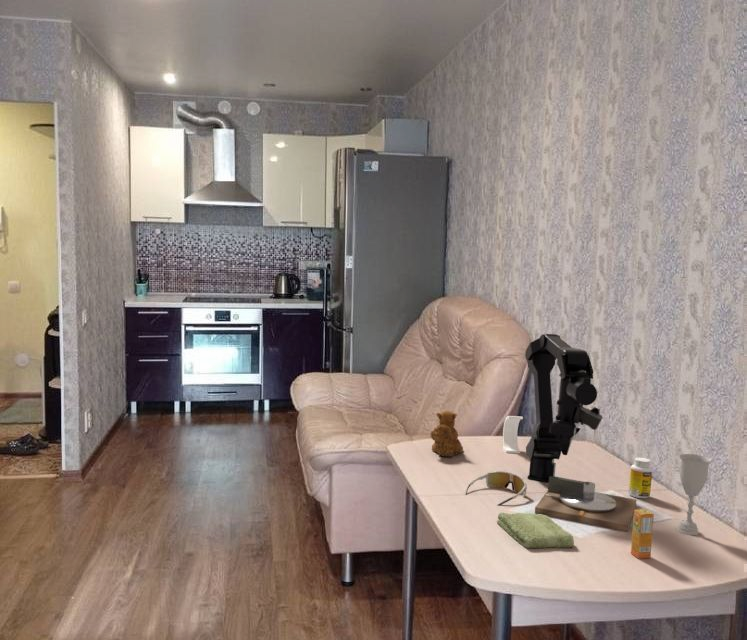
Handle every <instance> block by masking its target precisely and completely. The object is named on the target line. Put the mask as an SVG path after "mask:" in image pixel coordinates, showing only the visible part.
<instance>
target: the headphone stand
mask: <svg viewBox="0 0 747 640" xmlns="http://www.w3.org/2000/svg"><path fill="white" fill-rule="evenodd" d="M521 420H524V417H523V416H517V415H507V416H506V417H505V419H504V423H503V429H502V439H503V441H502V443H503V446H502V450H503V451H504V452H505V453H506V454H521V450H520V448H519V441H518V431H519V430H518V429H519V425H520V424H519V423H520V422H521Z"/></svg>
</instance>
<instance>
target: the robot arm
mask: <svg viewBox="0 0 747 640" xmlns="http://www.w3.org/2000/svg"><path fill="white" fill-rule="evenodd" d="M524 356H525V360H526V362H527V363H526V364H527V369H529V371H530V372H531V374H532V375H533V385H534V388H533V389H534V400H535V401H534V402H535V405H534V406H535V419H536V420H535V421H536V422H535V423H536V424H535V426H534V428H533V430H532V431H531V434H530V436H531V437H530V439H529V441H528V443H527V445H526V446H525V453H526V454H525V455H526V456H528V457H529V459H530V461H529V470H528V471H529V472H528V475H527V476H526V477H527V479H530V480H535V481H541V482H545V483H546V482H547V483H549V477H550V476H555V477H556V465H557V464H556V462H555V460H560V458H561V454H562V456H567V455H568V453H569V450H570V447H571V444H572V442H573V439H574V437H575V436H576V435H577V434H579V433H578V432H580V431H581V428H580V427H577V424H580V425H581V426H583V425H586V426H587V427H589V428H590V429H592V430H594V431H596V430H597V429H598V428H599V425H600V423H601V421H602V419H604V418H603V415H602V414H601V412H600V411H601V409H600V408H598V407H596V406H593V407H592V408H591V409H589V408H587V407H584V406H589V405H592V404H593V403H594V402H595V401H596V399H597V397H598V391H597V388H596V386H595V385H594V384H592V379H594V373H595V372H594V369H593V365H592V362H591V358H590V356H589V354H588V352H587V351H586V350H584V349H581V348H574V347H572V346H571V345H569V344H568V343H567V342H565V341H564V340H563V339H562V338H561V336H560V335H558V334H555V333H543V334H541V335H540V336H539V338H537V339H535V340H533V341H532V342H531V341H530V343H529V344H528V346H527V347H526V349H525V353H524ZM556 365H557V367H558V370H559V372H560V373H559V374H558V376H559V377H560V380H559V392H558V400H557V401H556V405H557V415H556V416H555V420H554V414H553V411H554V410H553V400H552V383H551V381H552V380H551V372H552V371H553V369H554V367H555V366H556Z"/></svg>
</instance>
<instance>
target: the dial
mask: <svg viewBox="0 0 747 640" xmlns="http://www.w3.org/2000/svg"><path fill="white" fill-rule="evenodd" d="M547 485H548V487H547V491H548V492H549V493H555V494H560V497H559V500H560V501H561V502H562V503H563V504H565V505H567V506H569V507H572V508H575V509H579V510H583V511H590V512H609V511H613V510H614V509H616V501H615V500H614V499H613V498H611V497H609V496H607V495H604V494H605V493H603V494H601V493H602V492H598V493H597V491H596V483H594V482H591V481H582V480H576V479H570V478H565V477H558V476H556V475H555V476H550V477H549V482H548V484H547Z"/></svg>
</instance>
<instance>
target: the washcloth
mask: <svg viewBox="0 0 747 640" xmlns="http://www.w3.org/2000/svg"><path fill="white" fill-rule="evenodd" d="M496 523H497V525H499V527H501V528H502V529H503V530H504V531H506V533H508V535H510V536H511V537H512V538H513V539H514V540H515V541H516V542H518V543H519V544H520V545H521V546H522V547H524V548H526V549H535V548H539V549H546V548H557V549H558V548H569V549H570V548H574V546H575V540H574V536H573V535H572V533H570V531H567V530H565V529H563V527H562V526H561V525H559V524H558V523H556V522H555V521H554V520H552V518H551V517H550V516H547V515H542V514H537V513H528V512H514V513H507V512H499V513H498V515H497V520H496Z"/></svg>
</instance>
